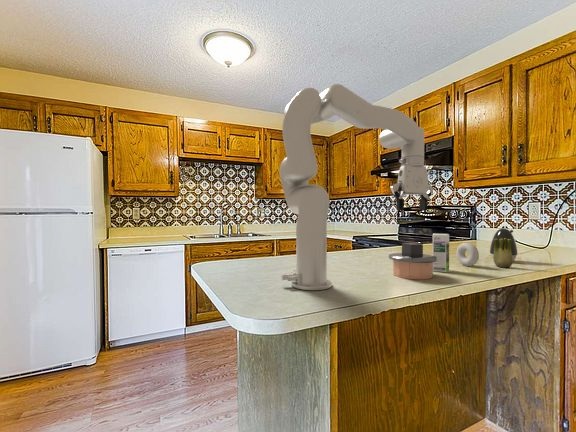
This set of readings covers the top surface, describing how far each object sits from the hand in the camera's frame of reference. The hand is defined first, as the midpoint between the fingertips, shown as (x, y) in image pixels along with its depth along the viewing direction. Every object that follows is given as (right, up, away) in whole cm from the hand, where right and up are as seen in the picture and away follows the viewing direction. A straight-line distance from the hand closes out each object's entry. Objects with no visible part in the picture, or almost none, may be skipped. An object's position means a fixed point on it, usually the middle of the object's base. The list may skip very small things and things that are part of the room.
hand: (411, 210), depth 104 cm
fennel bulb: (+44, -24, +15) cm, 52 cm away
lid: (0, -18, 0) cm, 18 cm away
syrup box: (+15, -24, +8) cm, 29 cm away
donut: (+31, -24, +18) cm, 43 cm away
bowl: (0, -24, 0) cm, 24 cm away
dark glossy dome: (+55, -23, +29) cm, 66 cm away
